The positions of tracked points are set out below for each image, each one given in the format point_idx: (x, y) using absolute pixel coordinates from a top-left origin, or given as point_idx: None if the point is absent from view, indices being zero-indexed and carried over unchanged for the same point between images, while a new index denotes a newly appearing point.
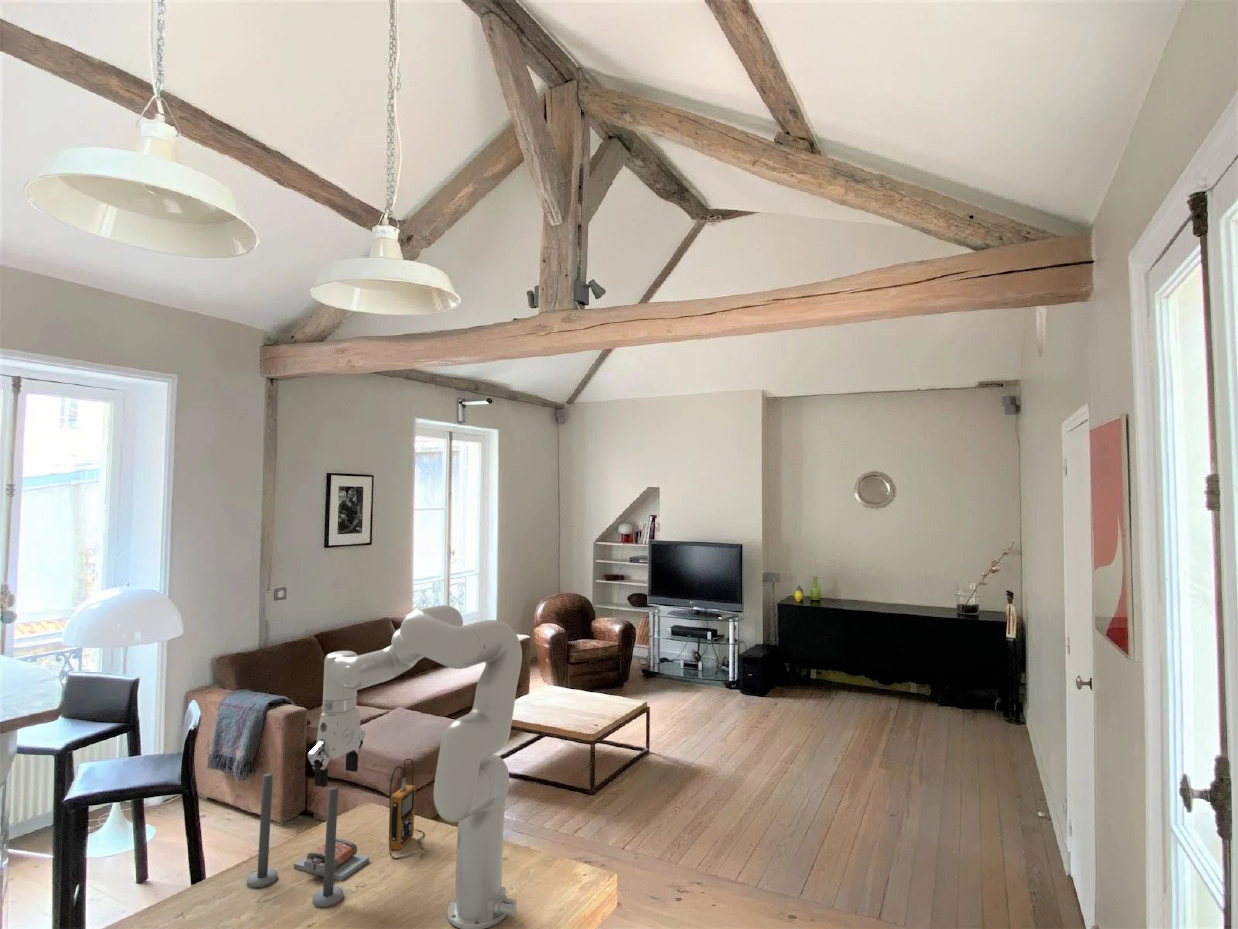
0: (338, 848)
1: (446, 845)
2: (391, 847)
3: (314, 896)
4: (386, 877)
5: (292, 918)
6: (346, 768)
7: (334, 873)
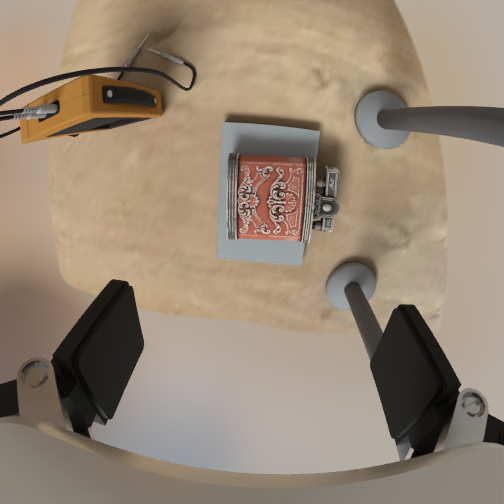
0: (266, 186)
1: (113, 27)
2: (161, 108)
3: (399, 142)
4: (271, 46)
5: (439, 151)
6: (140, 348)
7: (314, 154)
